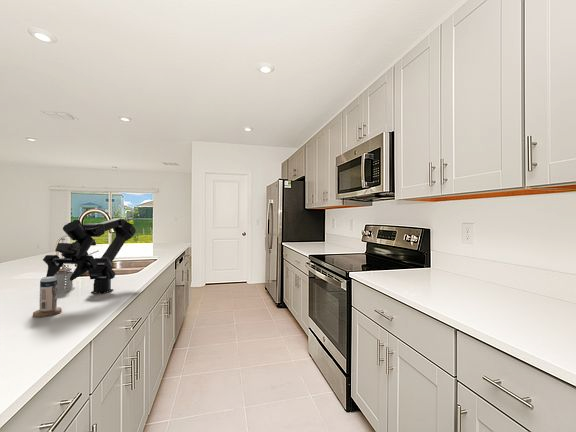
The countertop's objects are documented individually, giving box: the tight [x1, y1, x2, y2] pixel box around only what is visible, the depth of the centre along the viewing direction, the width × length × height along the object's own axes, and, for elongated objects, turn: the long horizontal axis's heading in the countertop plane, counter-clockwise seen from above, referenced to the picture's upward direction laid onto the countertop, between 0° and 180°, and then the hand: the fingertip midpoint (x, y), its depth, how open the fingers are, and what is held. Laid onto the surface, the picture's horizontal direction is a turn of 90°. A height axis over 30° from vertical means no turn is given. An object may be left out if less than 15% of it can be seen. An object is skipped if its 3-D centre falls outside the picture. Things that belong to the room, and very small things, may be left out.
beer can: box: [38, 276, 58, 312], centre depth 103 cm, size 5×5×12 cm
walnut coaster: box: [32, 306, 63, 318], centre depth 103 cm, size 8×8×1 cm
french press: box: [54, 237, 76, 294], centre depth 135 cm, size 10×12×25 cm
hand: (58, 280), depth 108 cm, fingers open, 9 cm apart
